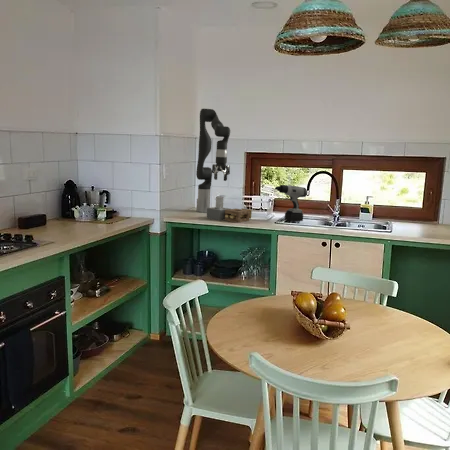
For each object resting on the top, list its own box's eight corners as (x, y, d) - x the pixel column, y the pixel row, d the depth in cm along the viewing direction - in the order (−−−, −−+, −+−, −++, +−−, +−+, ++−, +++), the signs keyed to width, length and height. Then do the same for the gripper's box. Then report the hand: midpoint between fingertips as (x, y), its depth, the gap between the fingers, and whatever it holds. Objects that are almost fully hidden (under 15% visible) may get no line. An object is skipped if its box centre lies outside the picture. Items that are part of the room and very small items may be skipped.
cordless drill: (271, 219, 336) (273, 184, 332) (300, 218, 346) (302, 184, 342) (276, 221, 329) (279, 185, 325) (306, 220, 340) (309, 185, 335)
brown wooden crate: (242, 216, 338) (242, 208, 337) (251, 218, 333) (251, 209, 332) (224, 219, 323) (224, 210, 322) (233, 221, 318) (233, 212, 317)
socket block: (235, 218, 336) (236, 208, 335) (249, 220, 328) (249, 210, 327) (224, 220, 327) (224, 209, 326) (238, 222, 319) (238, 212, 318)
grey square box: (206, 218, 332) (206, 208, 331) (218, 216, 341) (218, 206, 340) (219, 220, 324) (219, 210, 323) (231, 218, 333) (231, 208, 332)
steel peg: (215, 218, 333) (216, 196, 330) (218, 217, 335) (219, 196, 333) (219, 219, 330) (220, 197, 328) (222, 218, 333) (223, 197, 330)
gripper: (233, 156, 324) (231, 181, 326) (217, 155, 333) (216, 179, 336) (225, 156, 318) (224, 181, 321) (209, 155, 327) (209, 179, 330)
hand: (220, 180), depth 328 cm, fingers open, 8 cm apart
